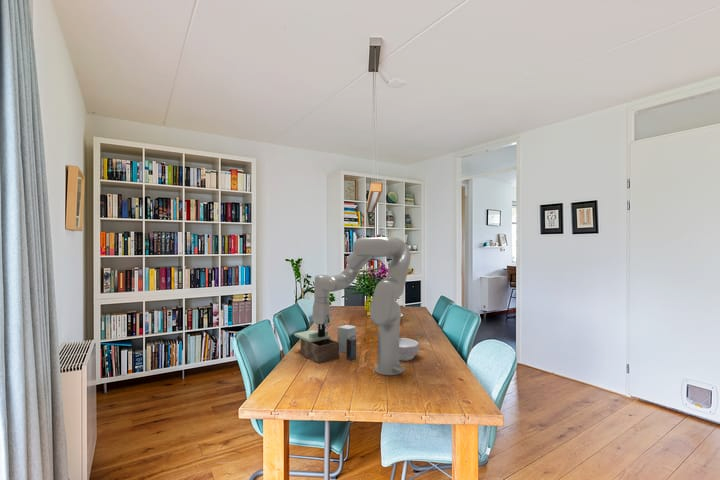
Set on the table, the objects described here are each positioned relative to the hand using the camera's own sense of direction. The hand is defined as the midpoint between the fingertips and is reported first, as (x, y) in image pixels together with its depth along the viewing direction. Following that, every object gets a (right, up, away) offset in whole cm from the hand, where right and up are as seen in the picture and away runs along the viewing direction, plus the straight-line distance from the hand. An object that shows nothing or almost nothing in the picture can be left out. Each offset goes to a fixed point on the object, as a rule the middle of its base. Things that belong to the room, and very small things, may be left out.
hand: (321, 336), depth 174 cm
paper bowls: (+41, -11, +1) cm, 42 cm away
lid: (-6, -2, +7) cm, 10 cm away
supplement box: (+12, -11, +12) cm, 20 cm away
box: (-3, -10, +4) cm, 11 cm away
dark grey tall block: (+15, -11, -2) cm, 18 cm away
